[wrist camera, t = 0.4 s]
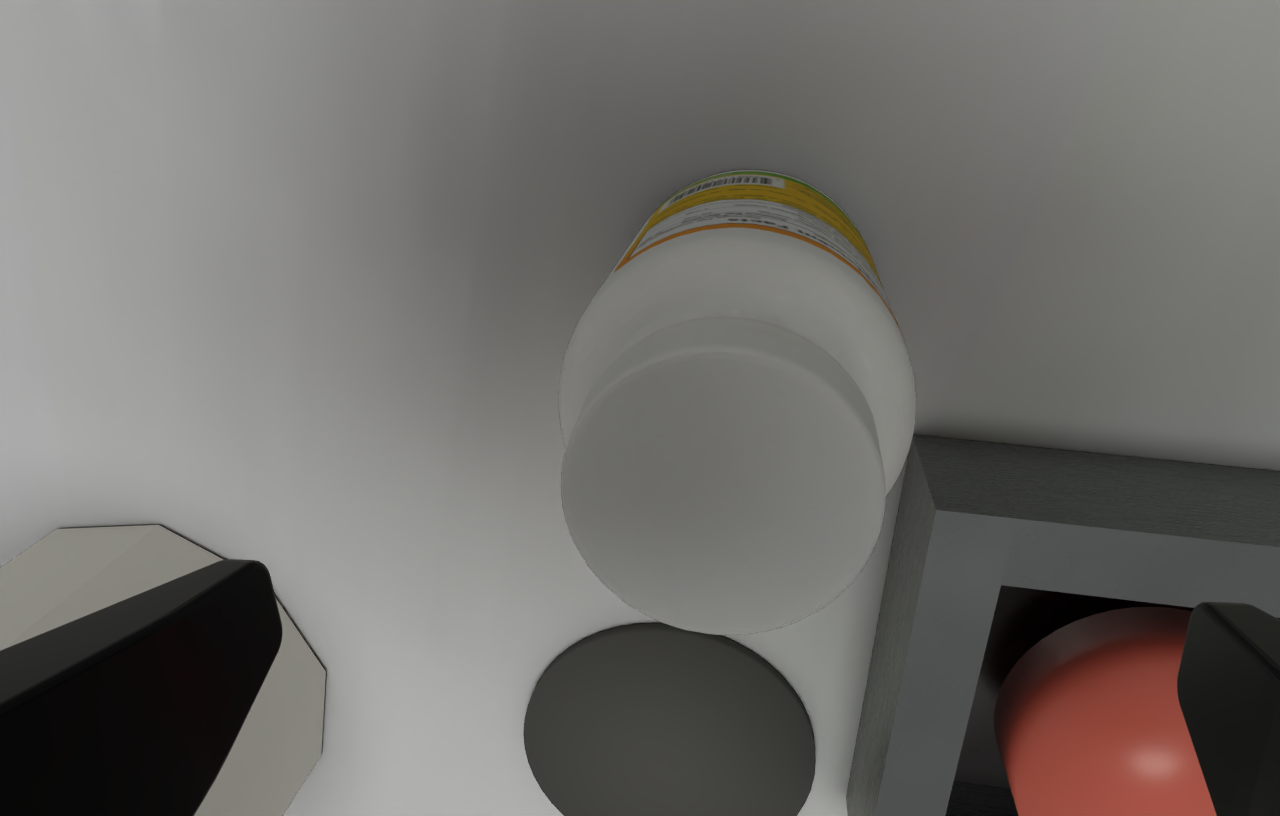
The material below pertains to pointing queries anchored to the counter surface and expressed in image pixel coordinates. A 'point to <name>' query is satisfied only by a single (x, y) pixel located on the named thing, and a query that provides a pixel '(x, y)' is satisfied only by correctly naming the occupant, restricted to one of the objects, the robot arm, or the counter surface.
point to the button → (1102, 720)
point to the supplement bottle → (735, 408)
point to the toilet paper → (136, 562)
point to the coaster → (668, 728)
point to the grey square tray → (1031, 593)
